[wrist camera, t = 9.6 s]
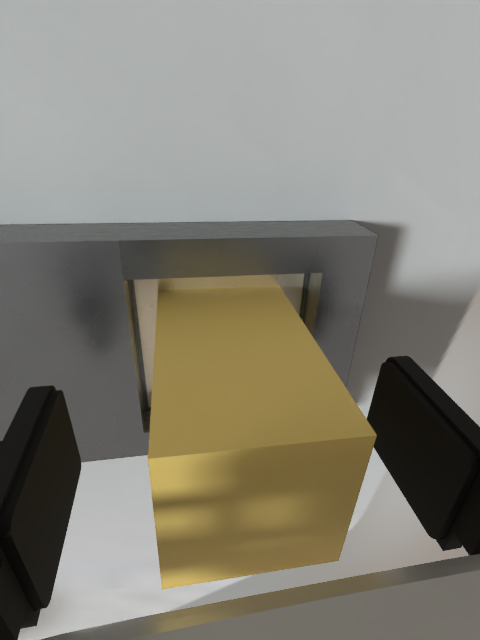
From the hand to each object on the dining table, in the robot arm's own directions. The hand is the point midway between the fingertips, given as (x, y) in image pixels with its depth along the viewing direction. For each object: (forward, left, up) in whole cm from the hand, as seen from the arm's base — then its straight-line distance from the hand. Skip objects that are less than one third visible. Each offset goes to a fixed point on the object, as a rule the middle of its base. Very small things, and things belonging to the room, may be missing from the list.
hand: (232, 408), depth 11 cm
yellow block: (0, 0, -4) cm, 4 cm away
